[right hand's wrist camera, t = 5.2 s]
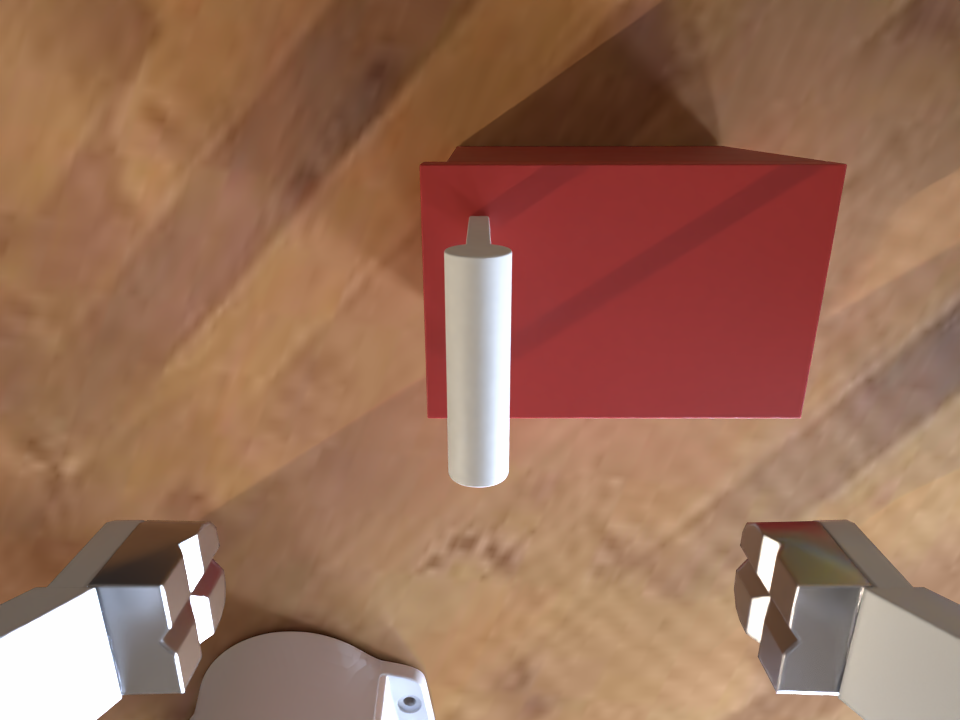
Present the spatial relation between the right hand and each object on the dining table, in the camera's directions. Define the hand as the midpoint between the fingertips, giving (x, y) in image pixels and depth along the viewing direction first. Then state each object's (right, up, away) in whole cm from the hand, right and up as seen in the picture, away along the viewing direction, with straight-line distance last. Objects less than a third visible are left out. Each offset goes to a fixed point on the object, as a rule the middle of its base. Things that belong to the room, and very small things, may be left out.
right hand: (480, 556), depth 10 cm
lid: (+5, +6, +15) cm, 17 cm away
